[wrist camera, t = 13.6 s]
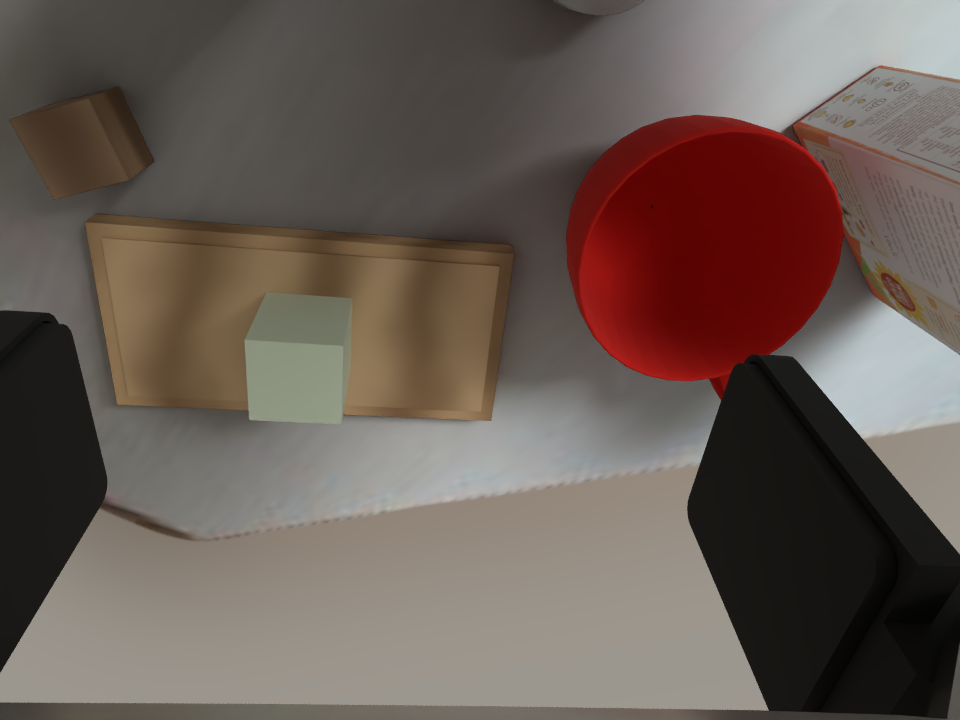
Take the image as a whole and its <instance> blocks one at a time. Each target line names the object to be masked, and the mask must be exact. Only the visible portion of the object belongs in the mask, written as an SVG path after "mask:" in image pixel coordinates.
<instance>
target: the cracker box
mask: <svg viewBox="0 0 960 720" xmlns="http://www.w3.org/2000/svg"><path fill="white" fill-rule="evenodd" d="M793 128H794V130H795V132H796V135H797V137H798V139H799V141H800V143H801V145H802V147H804V148H805V149H807V151H808V152H809V153H810V154H811V155H812V156H813V157H814V158H815V159H816V160H817V161H818V162H819V163H820V164H821V165H822V166H823V167H824V169H825V171H826V172H827V174H828V176H829V178H830V180H831V181H832V183H833V185H834V187H835V188H836V191H837V195H838V198H839V202H840V206H841V209H842V216H843V233H844V235H845V237H846V239H847V241H848V243H849V245H850V248H851V250H852V252H853V254H854V256H855V258H856V260H857V262H858V264H859V266H860V268H861V270H862V272H863V275H864V277H865V279H866V281H867V283H868V285H869V287H870V290H871V292H872V293H873V295H874V296H875V297H877V298H878V299H879V300H881V301H882V302H884V303H885V304H887V305H888V306H890V307H891V308H893V309H894V310H895V311H897V312H898V313H900V314H901V315H903V316H904V317H905V318H907V319H908V320H910V321H911V322H912V323H914V324H915V325H917V326H918V327H920V328H921V329H923V330H924V331H926V332H927V333H929V334H930V335H931V336H933V337H934V338H936V339H937V340H939V341H940V342H942V343H943V344H945V345H946V346H948V347H949V348H950V349H952V350H953V351H955V352H956V353H958V354H959V355H960V80H959V79H954V78H948V77H943V76H937V75H932V74H926V73H921V72H915V71H909V70H904V69H898V68H893V67H887V66H882V65H881V66H878V67H877V68H875V69H874V70H872V71H871V72H869V73H868V74H866V75H865V76H863V77H862V78H860V79H859V80H857V81H856V82H855V83H853V84H852V85H850V86H849V87H847V88H846V89H844V90H843V91H841V92H840V93H838V94H837V95H836V96H834V97H833V98H831V99H830V100H828V101H827V102H826V103H824V104H823V105H821V106H820V107H818V108H817V109H815V110H814V111H812V112H811V113H809V114H808V115H807V116H805V117H804V118H803V119H801V120H799V121H798V122H796V123H795V124H794V125H793Z"/></svg>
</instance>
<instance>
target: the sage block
mask: <svg viewBox="0 0 960 720" xmlns="http://www.w3.org/2000/svg"><path fill="white" fill-rule="evenodd" d="M351 331H352V298H341V297H327V296H313V295H299V294H285V293H271V292H266V294H265V297H264V299H263V301H262V303H261V305H260V307H259V310H258V312H257V314H256V316H255V318H254V320H253V323H252V325H251V327H250V329H249V331H248V333H247V336H246V338H245V357H246V374H247V392H248V409H249V420H258V421H279V422H299V423H320V424H341V425H342V419H343V412H344V406H345V400H346V394H347V388H348V382H349V376H350V367H351Z"/></svg>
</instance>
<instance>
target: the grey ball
mask: <svg viewBox="0 0 960 720" xmlns="http://www.w3.org/2000/svg"><path fill="white" fill-rule="evenodd" d="M552 1H553V2H555V3H557V4H558V5H560V6H562V7H564V8H566V9H568V10H572V11H576V12H580V13H585V14H590V15H599V16H602V15H613V14H618V13H621V12H624V11H627V10H629V9H631V8H633V7H635V6H637V5H638V4H640V3H641V2H643V1H644V0H552Z"/></svg>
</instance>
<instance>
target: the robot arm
mask: <svg viewBox="0 0 960 720" xmlns="http://www.w3.org/2000/svg"><path fill="white" fill-rule="evenodd" d="M106 490H107V475H106V470H105V466H104V462H103V458H102V454H101V450H100V446H99V442H98V438H97V434H96V430H95V425H94V421H93V417H92V413H91V409H90V405H89V401H88V397H87V393H86V389H85V385H84V380H83V376H82V372H81V368H80V364H79V360H78V356H77V352H76V348H75V344H74V340H73V336H72V333H71V330H70V329H69V328H68V326H66V325H64V324H59V323H58V321H57V320H56V318H55V317H54V316H53V315H51V314H50V313H41V312H24V311H0V672H1V671H2V669H3V667H4V665H5V664H6V662H7V660H8V659H9V657H10V656H11V653H12V652H13V651H14V649H15V647H16V646H17V644H18V642H19V641H20V639H21V637H22V635H23V634H24V632H25V630H26V629H27V627H28V626H29V624H30V622H31V621H32V619H33V617H34V616H35V614H36V612H37V611H38V609H39V607H40V606H41V604H42V602H43V601H44V599H45V597H46V596H47V594H48V592H49V591H50V589H51V587H52V586H53V584H54V582H55V581H56V579H57V577H58V576H59V574H60V573H61V571H62V569H63V568H64V566H65V564H66V563H67V561H68V559H69V558H70V556H71V554H72V553H73V551H74V549H75V548H76V546H77V544H78V543H79V541H80V539H81V538H82V536H83V534H84V533H85V531H86V529H87V527H88V526H89V524H90V523H91V521H92V519H93V517H94V516H95V514H96V513H97V511H98V509H99V508H100V506H101V504H102V502H103V500H104V498H105V495H106ZM687 511H688V519H689V523H690V525H691V528H692V530H693V532H694V535H695V537H696V540H697V542H698V544H699V547H700V549H701V551H702V554H703V556H704V559H705V561H706V563H707V566H708V568H709V570H710V573H711V575H712V577H713V580H714V582H715V584H716V587H717V589H718V591H719V594H720V596H721V599H722V601H723V603H724V606H725V608H726V610H727V612H728V615H729V617H730V620H731V622H732V625H733V627H734V629H735V631H736V634H737V636H738V639H739V641H740V643H741V646H742V648H743V650H744V653H745V655H746V658H747V660H748V662H749V664H750V667H751V669H752V671H753V674H754V676H755V679H756V681H757V683H758V686H759V688H760V691H761V693H762V695H763V698H764V700H765V702H766V705H767V707H768V709H769V711H760V710H759V711H758V710H697V709H636V708H635V709H634V708H633V709H632V708H572V707H571V708H569V707H500V706H497V707H496V706H409V705H408V706H407V705H406V706H405V705H311V704H298V705H297V704H173V703H172V704H170V703H169V704H168V703H164V704H163V703H159V704H158V703H0V720H960V554H959V553H958V552H957V551H956V549H955V548H954V547H953V546H952V545H951V544H950V542H949V541H948V540H947V539H946V538H945V536H944V535H943V534H942V533H941V532H940V530H939V529H938V528H937V527H936V526H935V524H934V523H933V522H932V521H931V520H930V519H929V517H928V516H927V515H926V514H925V513H924V512H923V510H922V509H921V508H920V507H919V505H918V504H917V503H916V502H915V501H914V500H913V498H912V497H911V496H910V495H909V494H908V492H907V491H906V490H905V489H904V488H903V487H902V485H901V484H900V483H899V482H898V481H897V480H896V478H895V477H894V476H893V475H892V473H891V472H890V471H889V470H888V469H887V467H886V466H885V465H884V464H883V463H882V461H881V460H880V459H879V458H878V457H877V456H876V454H875V453H874V452H873V451H872V450H871V448H870V447H869V446H868V445H867V444H866V442H865V441H864V440H863V439H862V438H861V437H860V435H859V434H858V433H857V432H856V431H855V429H854V428H853V427H852V426H851V425H850V423H849V422H848V421H847V420H846V419H845V418H844V416H843V415H842V414H841V413H840V412H839V410H838V409H837V408H836V407H835V406H834V404H833V403H832V402H831V401H830V400H829V399H828V397H827V396H826V395H825V394H824V393H823V391H822V390H821V389H820V388H819V387H818V385H817V384H816V383H815V382H814V381H813V380H812V378H811V377H810V376H809V375H808V374H807V372H806V371H805V370H804V369H803V368H802V366H801V365H800V364H799V363H798V362H797V360H795V359H794V358H793V357H790V356H776V355H759V354H752V355H750V356H748V357H747V359H746V360H745V361H744V363H738V364H736V365H735V366H734V367H733V369H732V371H731V373H730V376H729V379H728V382H727V385H726V388H725V391H724V394H723V397H722V400H721V403H720V406H719V409H718V412H717V415H716V418H715V421H714V424H713V427H712V430H711V433H710V436H709V439H708V442H707V445H706V448H705V451H704V454H703V457H702V460H701V463H700V466H699V469H698V472H697V475H696V478H695V481H694V484H693V487H692V490H691V493H690V496H689V499H688V506H687Z"/></svg>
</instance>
